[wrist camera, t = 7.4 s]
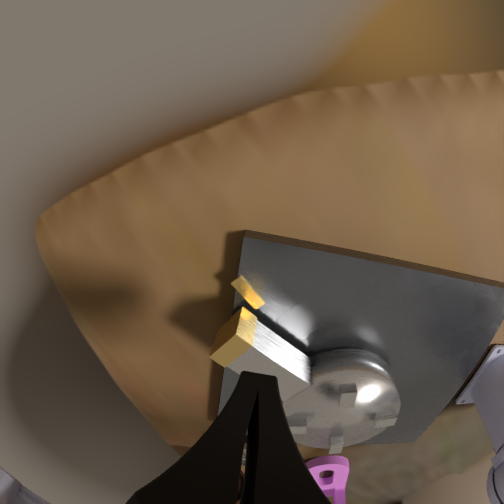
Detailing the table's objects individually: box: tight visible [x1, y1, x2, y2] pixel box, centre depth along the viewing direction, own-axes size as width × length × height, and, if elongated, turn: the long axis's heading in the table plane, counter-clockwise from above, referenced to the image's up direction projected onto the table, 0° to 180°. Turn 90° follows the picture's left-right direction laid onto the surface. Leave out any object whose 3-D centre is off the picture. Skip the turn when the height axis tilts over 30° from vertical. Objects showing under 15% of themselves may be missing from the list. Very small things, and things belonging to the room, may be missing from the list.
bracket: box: [305, 456, 349, 504], centre depth 27 cm, size 13×6×7 cm, turn 9°
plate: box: [218, 230, 504, 444], centre depth 21 cm, size 22×20×1 cm
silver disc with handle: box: [209, 307, 401, 454], centre depth 19 cm, size 15×9×4 cm, turn 50°
